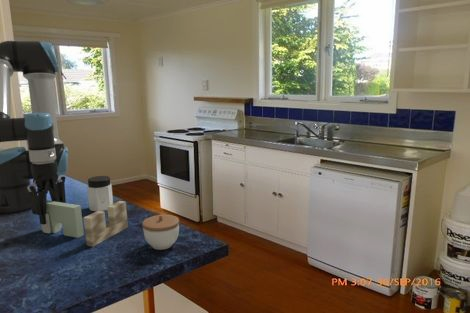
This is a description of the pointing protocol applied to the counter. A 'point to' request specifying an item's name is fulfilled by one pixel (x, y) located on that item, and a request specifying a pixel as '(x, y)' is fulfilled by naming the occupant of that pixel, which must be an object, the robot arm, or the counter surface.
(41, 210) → the robot arm
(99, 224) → the beech u-shaped block
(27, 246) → the counter surface
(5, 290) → the counter surface
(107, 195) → the jar
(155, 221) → the lidded jar
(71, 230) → the sage plate
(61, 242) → the counter surface
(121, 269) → the counter surface
